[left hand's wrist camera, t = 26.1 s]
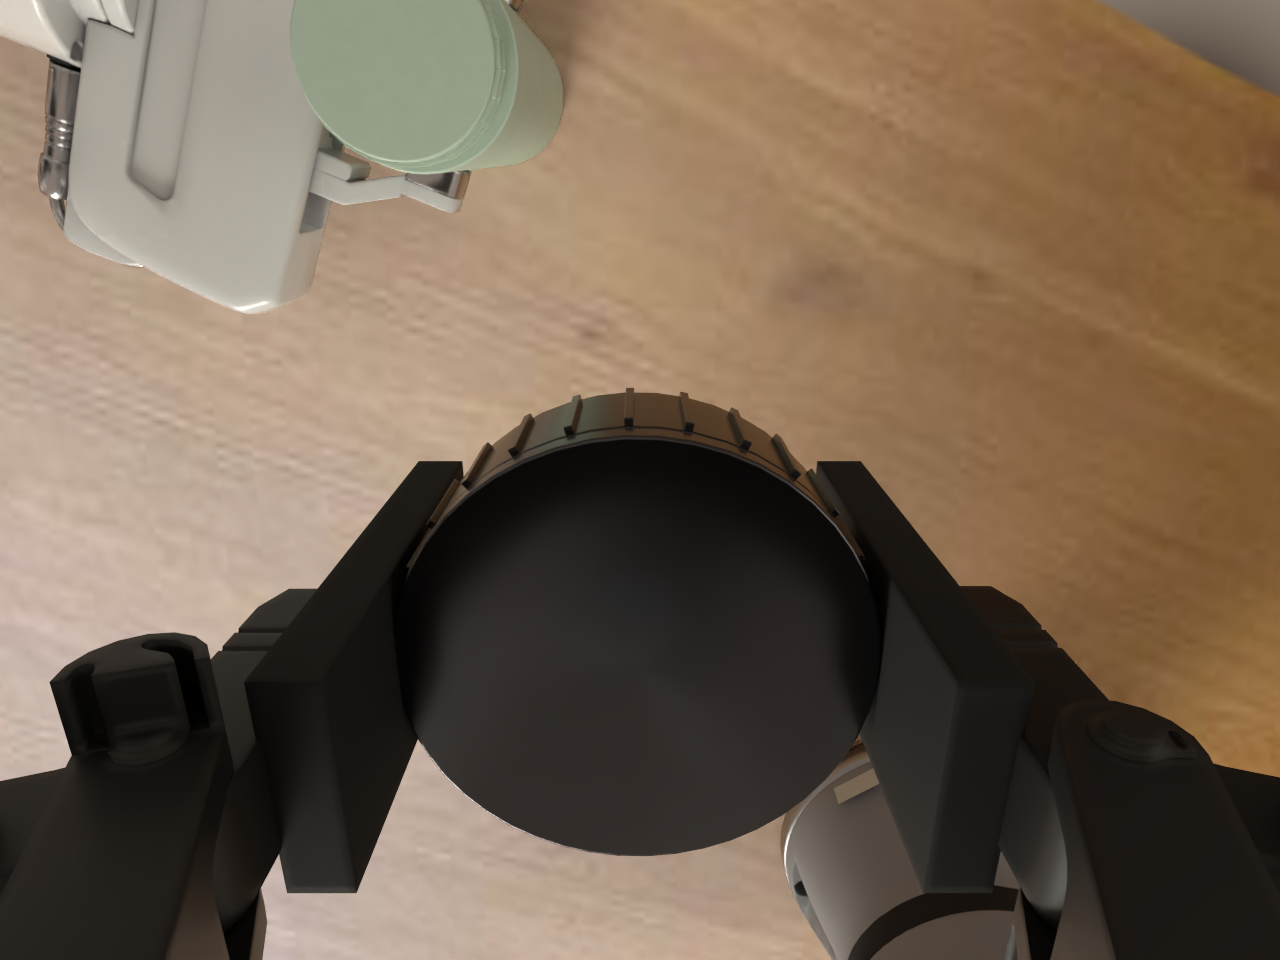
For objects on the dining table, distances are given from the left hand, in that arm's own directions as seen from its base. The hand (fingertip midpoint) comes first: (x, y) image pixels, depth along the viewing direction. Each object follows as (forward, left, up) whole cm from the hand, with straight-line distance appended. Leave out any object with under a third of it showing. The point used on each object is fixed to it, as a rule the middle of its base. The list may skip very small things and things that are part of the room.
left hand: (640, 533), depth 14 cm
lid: (0, 0, +4) cm, 4 cm away
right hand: (+9, -4, -17) cm, 19 cm away
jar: (+9, -4, -23) cm, 25 cm away
